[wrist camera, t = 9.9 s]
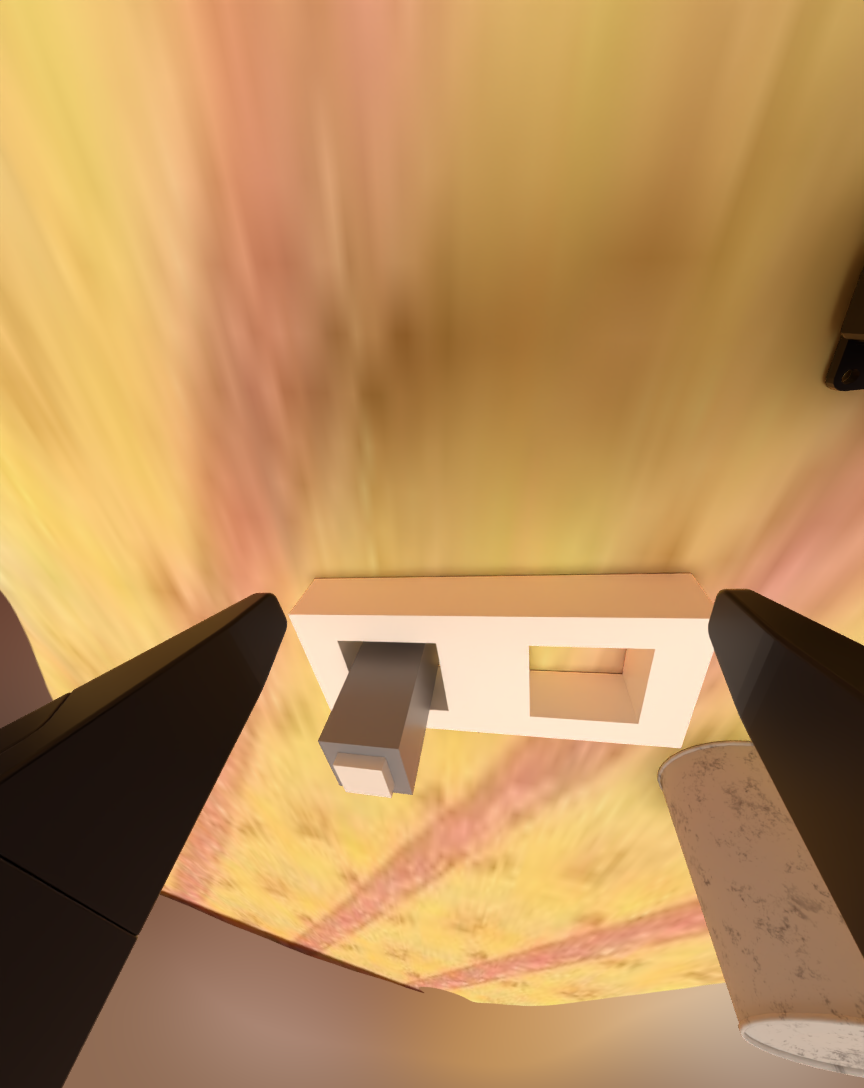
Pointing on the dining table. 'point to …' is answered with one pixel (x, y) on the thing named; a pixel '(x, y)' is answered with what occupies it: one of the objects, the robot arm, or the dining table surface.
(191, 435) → the dining table surface
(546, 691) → the socket strip
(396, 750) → the plug
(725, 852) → the stone cylinder
